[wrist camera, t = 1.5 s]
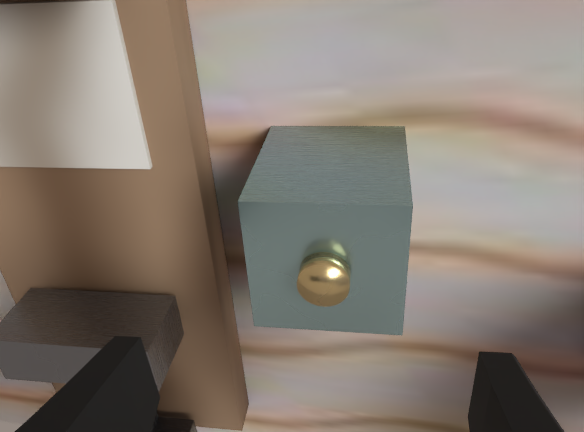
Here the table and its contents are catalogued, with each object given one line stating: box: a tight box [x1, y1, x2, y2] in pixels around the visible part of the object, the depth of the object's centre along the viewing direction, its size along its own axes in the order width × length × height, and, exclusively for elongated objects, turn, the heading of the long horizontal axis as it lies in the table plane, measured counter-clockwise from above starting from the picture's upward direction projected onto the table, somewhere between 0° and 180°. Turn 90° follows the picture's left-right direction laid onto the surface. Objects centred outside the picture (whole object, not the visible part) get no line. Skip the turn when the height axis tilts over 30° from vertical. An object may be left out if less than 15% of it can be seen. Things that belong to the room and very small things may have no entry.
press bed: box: [0, 0, 249, 431], centre depth 18 cm, size 9×24×4 cm, turn 3°
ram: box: [0, 288, 197, 432], centre depth 21 cm, size 6×9×3 cm, turn 3°
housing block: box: [238, 126, 413, 335], centre depth 16 cm, size 4×4×6 cm
